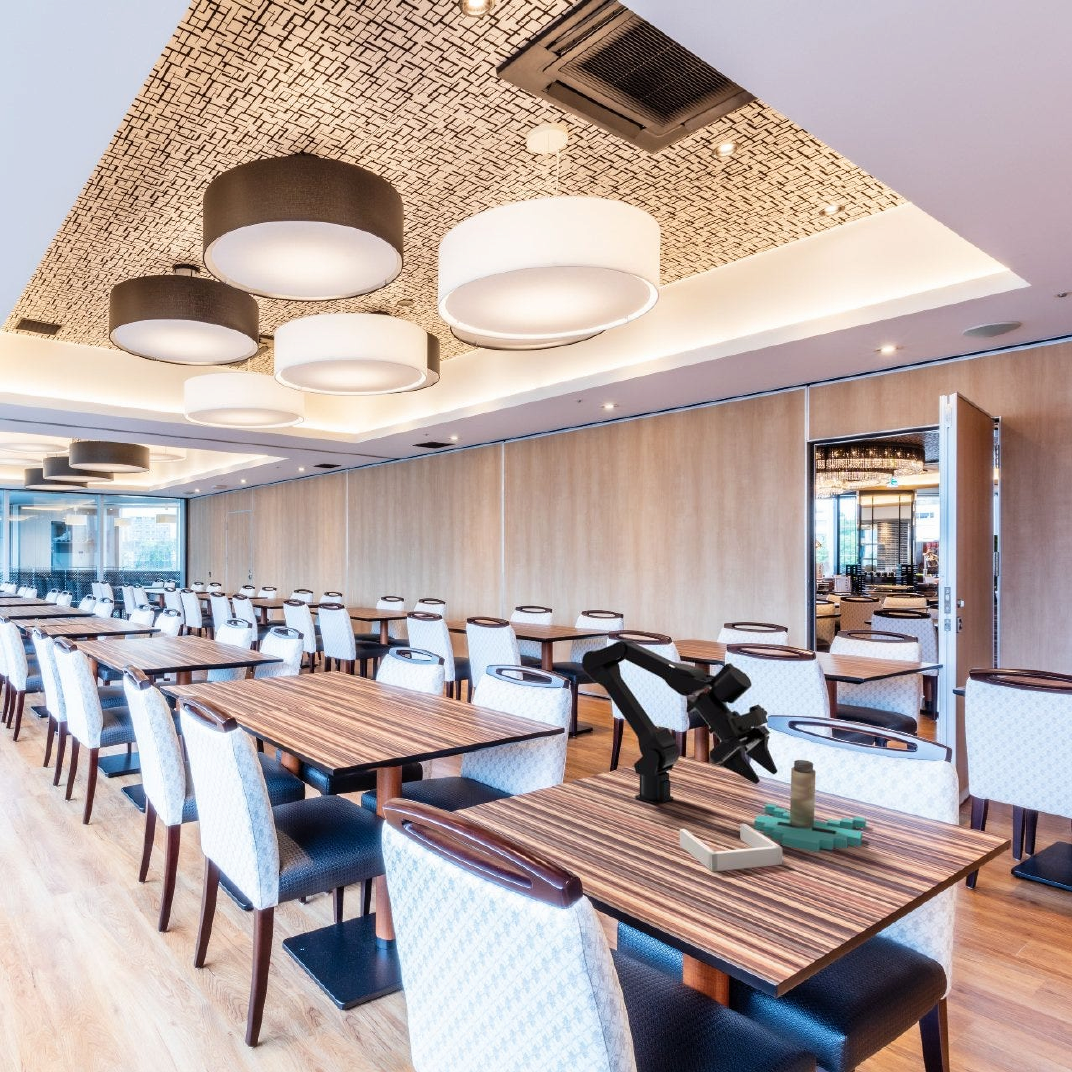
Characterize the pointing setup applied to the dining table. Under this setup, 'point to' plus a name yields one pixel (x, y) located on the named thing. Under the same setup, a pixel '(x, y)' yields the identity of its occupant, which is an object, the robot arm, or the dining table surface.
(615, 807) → the dining table surface
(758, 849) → the u-shaped frame
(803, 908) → the dining table surface
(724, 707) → the robot arm
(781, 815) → the alien figure
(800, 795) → the pepper mill
